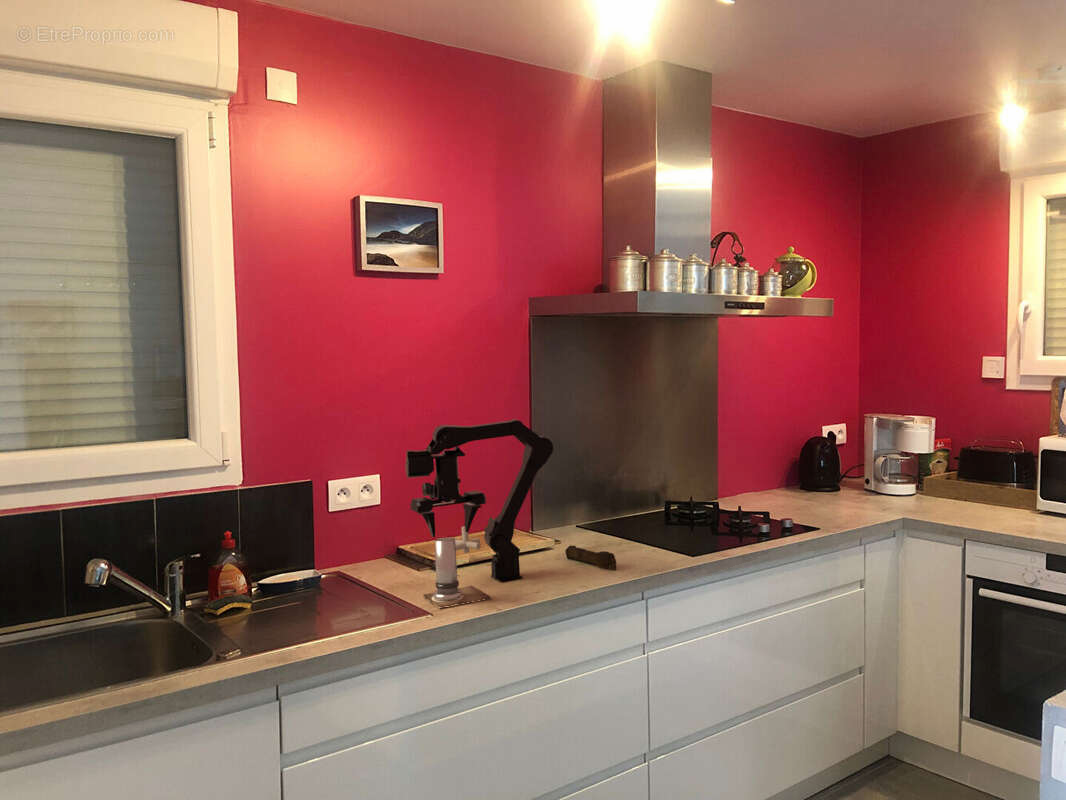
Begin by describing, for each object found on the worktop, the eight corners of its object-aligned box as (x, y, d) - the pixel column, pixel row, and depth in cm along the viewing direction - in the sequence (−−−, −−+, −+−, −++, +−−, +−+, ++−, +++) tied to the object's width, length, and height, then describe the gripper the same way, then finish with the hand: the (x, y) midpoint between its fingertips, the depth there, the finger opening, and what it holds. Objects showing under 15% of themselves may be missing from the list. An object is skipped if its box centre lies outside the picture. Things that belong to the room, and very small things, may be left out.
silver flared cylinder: (445, 591, 212) (442, 535, 211) (467, 594, 208) (464, 538, 207) (427, 599, 206) (424, 541, 205) (450, 602, 203) (447, 544, 202)
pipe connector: (466, 555, 251) (464, 521, 250) (491, 560, 244) (489, 525, 244) (441, 563, 243) (439, 528, 242) (467, 568, 237) (465, 532, 236)
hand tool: (564, 560, 241) (564, 544, 241) (576, 557, 244) (575, 541, 243) (607, 573, 226) (607, 556, 226) (619, 570, 228) (618, 553, 228)
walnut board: (471, 588, 217) (471, 585, 217) (490, 599, 207) (490, 595, 207) (423, 597, 211) (423, 594, 211) (439, 609, 201) (439, 605, 201)
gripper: (468, 467, 231) (471, 524, 232) (401, 474, 222) (405, 534, 223) (485, 471, 221) (488, 531, 222) (416, 480, 212) (420, 542, 213)
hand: (450, 534), depth 220 cm, fingers open, 9 cm apart
